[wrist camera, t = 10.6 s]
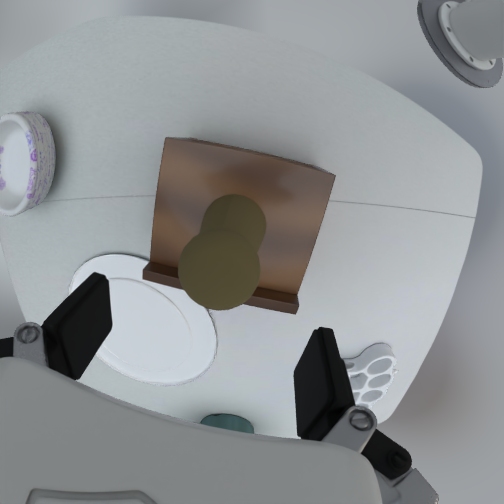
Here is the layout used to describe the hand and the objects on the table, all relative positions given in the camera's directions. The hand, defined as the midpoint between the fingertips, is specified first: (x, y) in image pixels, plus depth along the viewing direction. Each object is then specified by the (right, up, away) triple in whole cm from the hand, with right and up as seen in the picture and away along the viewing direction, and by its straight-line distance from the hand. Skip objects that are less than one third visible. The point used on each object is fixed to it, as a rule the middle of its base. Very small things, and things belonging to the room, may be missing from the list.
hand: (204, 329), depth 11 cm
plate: (-17, -10, +31) cm, 36 cm away
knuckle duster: (+22, -20, +34) cm, 45 cm away
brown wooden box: (+1, +9, +22) cm, 24 cm away
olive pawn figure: (0, +6, +15) cm, 16 cm away
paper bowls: (-32, +18, +20) cm, 42 cm away
